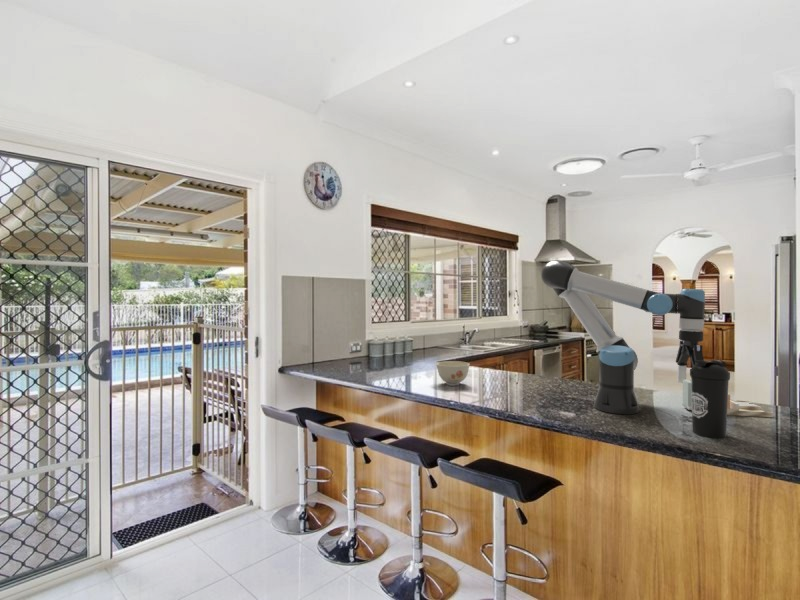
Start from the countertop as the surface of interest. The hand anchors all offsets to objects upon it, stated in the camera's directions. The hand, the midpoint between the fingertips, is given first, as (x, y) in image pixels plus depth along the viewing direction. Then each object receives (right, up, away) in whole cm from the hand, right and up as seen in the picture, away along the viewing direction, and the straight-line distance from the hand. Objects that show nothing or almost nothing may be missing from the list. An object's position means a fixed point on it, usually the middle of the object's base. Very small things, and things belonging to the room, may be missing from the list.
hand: (688, 386), depth 160 cm
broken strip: (+18, -9, +3) cm, 21 cm away
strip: (+7, -9, -2) cm, 11 cm away
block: (+9, -7, -3) cm, 12 cm away
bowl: (-83, -9, +46) cm, 95 cm away
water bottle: (-12, -10, -27) cm, 31 cm away
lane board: (+15, -9, 0) cm, 17 cm away
